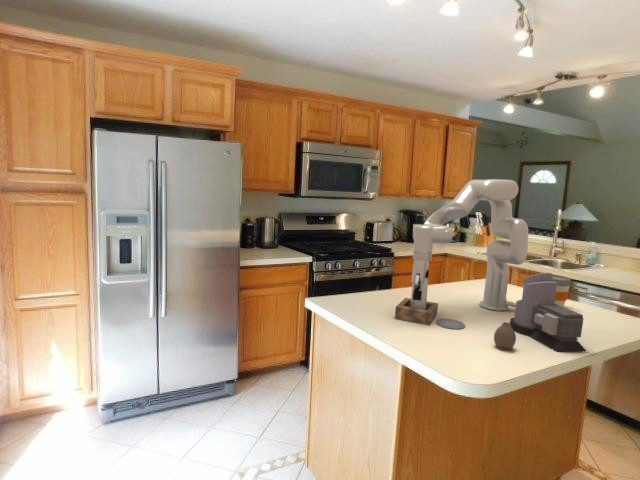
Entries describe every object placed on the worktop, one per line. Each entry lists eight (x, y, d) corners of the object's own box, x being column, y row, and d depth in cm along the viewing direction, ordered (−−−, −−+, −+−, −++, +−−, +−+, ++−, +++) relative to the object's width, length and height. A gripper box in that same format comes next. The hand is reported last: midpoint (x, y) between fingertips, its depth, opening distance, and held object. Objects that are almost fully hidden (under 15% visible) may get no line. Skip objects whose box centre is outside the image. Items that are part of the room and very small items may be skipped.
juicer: (498, 322, 170) (505, 264, 166) (532, 322, 173) (540, 265, 170) (552, 353, 141) (562, 283, 137) (592, 351, 144) (602, 283, 141)
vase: (489, 343, 146) (492, 319, 145) (507, 343, 147) (510, 320, 145) (499, 351, 139) (502, 326, 138) (518, 352, 140) (521, 327, 138)
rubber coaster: (466, 323, 166) (466, 321, 166) (463, 331, 157) (463, 330, 156) (438, 318, 171) (438, 316, 171) (433, 325, 161) (433, 324, 161)
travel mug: (423, 313, 175) (427, 267, 172) (426, 318, 168) (430, 270, 165) (409, 312, 175) (412, 266, 172) (410, 317, 169) (414, 269, 166)
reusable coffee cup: (571, 309, 195) (576, 278, 193) (559, 313, 188) (564, 281, 186) (544, 302, 205) (548, 273, 203) (532, 306, 198) (536, 275, 196)
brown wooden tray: (436, 314, 176) (438, 303, 175) (429, 325, 161) (430, 313, 161) (404, 308, 182) (405, 297, 181) (394, 318, 167) (395, 306, 167)
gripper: (417, 251, 177) (414, 291, 180) (408, 257, 162) (404, 301, 164) (435, 253, 174) (431, 294, 177) (427, 259, 159) (423, 304, 161)
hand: (418, 297), depth 171 cm, fingers closed on travel mug, 6 cm apart
